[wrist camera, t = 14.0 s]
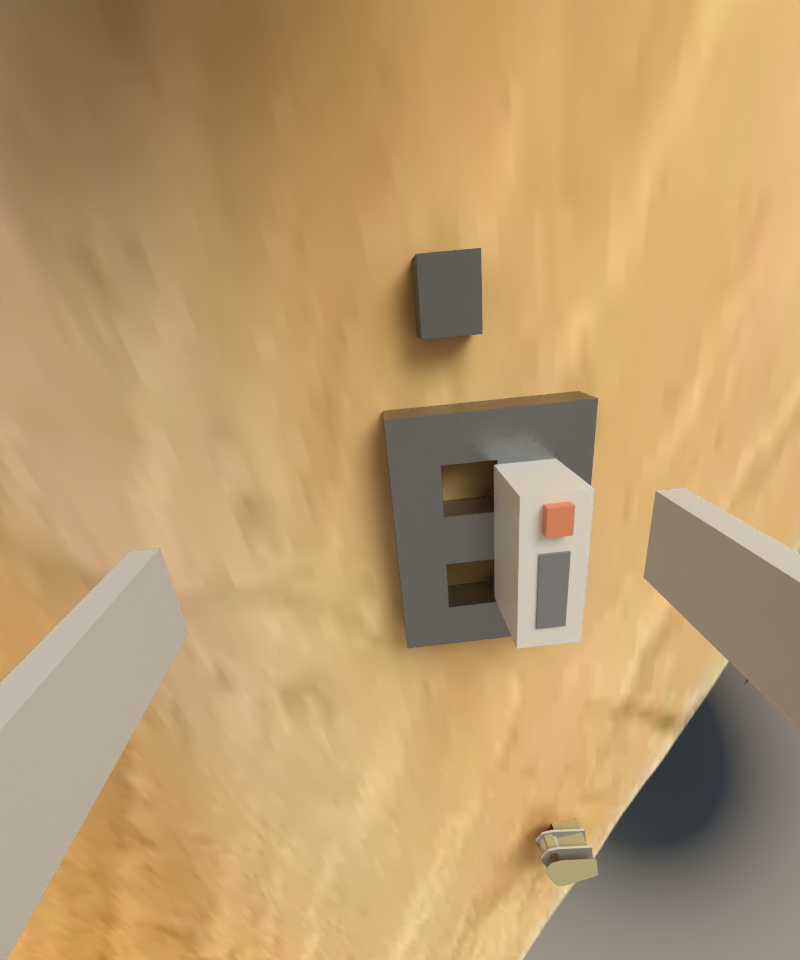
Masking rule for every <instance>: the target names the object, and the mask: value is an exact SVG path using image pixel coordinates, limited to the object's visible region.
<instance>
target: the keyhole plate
mask: <svg viewBox="0 0 800 960" xmlns="http://www.w3.org/2000/svg"><path fill="white" fill-rule="evenodd" d="M597 404H598V398H596V397H593V396H590V395H588V394H585V393H582V392H580V391H577V392H567V393H558V394H548V395H538V396H528V397H518V398H508V399H498V400H488V401H479V402H469V403H459V404H449V405H439V406H429V407H419V408H409V409H400V410H390V411H383V419H384V428H385V438H386V448H387V457H388V467H389V476H390V486H391V496H392V505H393V515H394V525H395V534H396V544H397V554H398V563H399V573H400V582H401V592H402V602H403V611H404V621H405V630H406V639H407V648H414V647H423V646H431V645H440V644H448V643H457V642H465V641H474V640H482V639H491V638H499V637H508V636H511V634H510V632H509V629H508V627H507V625H506V622H505V620H504V618H503V616H502V613H501V611H500V609H499V607H498V604H497V602H496V600H495V589H494V576H491V577H489V581H488V582H480V583H471V584H462V585H453V586H448V583H447V566H446V564H455V563H464V562H473V561H482V560H491V559H494V490H490V491H488V496H486V497H477V498H468V499H458V500H449V501H443V494H442V477H441V466H443V465H453V464H462V463H472V462H481V461H491V460H493V461H494V462H495V463H496V464H507V463H516V462H526V461H536V460H546V459H555V458H556V459H557V460H558V461H560V462H561V463H562V464H564V465H565V466H566V467H567V468H569V469H570V470H571V471H573V472H574V473H575V474H576V475H578V476H579V477H580V478H582V479H583V480H584V481H585V482H587V483H588V484H589V485H590V486H591V478H592V466H593V454H594V441H595V429H596V417H597Z"/></svg>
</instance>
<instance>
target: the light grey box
mask: <svg viewBox="0 0 800 960" xmlns="http://www.w3.org/2000/svg"><path fill="white" fill-rule="evenodd" d="M594 491H595V489H594V488H593V487H592V486H590V485H589V484H588V483H587V482H585V481H584V480H583V479H582V478H580V477H579V476H578V475H576V474H575V473H574V472H573V471H571V470H570V469H569V468H567V467H566V466H565V465H564V464H562V463H561V462H560V461H558V460H557V459H556V458H555V459H546V460H536V461H526V462H516V463H507V464H497V465H494V589H495V600H496V602H497V604H498V607H499V609H500V611H501V613H502V616H503V618H504V620H505V622H506V625H507V627H508V629H509V632H510V634H511V636H512V638H513V641H514V643H515V645H516V648H517V649H519V648H528V647H536V646H545V645H553V644H562V643H571V642H579V641H581V639H582V627H583V616H584V605H585V593H586V582H587V570H588V559H589V548H590V536H591V525H592V514H593V502H594Z"/></svg>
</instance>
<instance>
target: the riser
mask: <svg viewBox="0 0 800 960" xmlns="http://www.w3.org/2000/svg"><path fill="white" fill-rule="evenodd" d="M412 264H413V279H414V293H415V307H416V322H417V336H418V338H419V339H421V340H424V339H434V338H445V337H455V336H466V335H476V334H482V277H481V248H476V249H465V250H454V251H443V252H432V253H421V254H416V255H415V256H414V257H413V259H412Z"/></svg>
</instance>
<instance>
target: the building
mask: <svg viewBox="0 0 800 960" xmlns="http://www.w3.org/2000/svg"><path fill="white" fill-rule="evenodd" d="M552 826H553V829H554V830H549V831H545V832H542V833H541V834H540V835H539V836H538V837H537V838H536V839H535V840H536V844H537V845H538V846H539V848H540V849H541V850H542V854H543V855H542V856H541V860H542V862H543V863H544V864H545V866H546V867H547V869H546V870H545V872H546V873H547V875H548V876H549V877H550V879H551V880H552V881H553V883H554V884H556V885H559V886H565V885H569V884H572V883H575V882H578V881H581V880H584V879H588V878H591V877H594V876H597V875H598V870H597V862H596V859H593V855H592V848H591V846H590V845H587V844H586V838H585V831H584V829H580V826H579V824H578V821H577V819H576V818H574V819H569V820H565V821H561V822H556V823H552Z"/></svg>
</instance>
